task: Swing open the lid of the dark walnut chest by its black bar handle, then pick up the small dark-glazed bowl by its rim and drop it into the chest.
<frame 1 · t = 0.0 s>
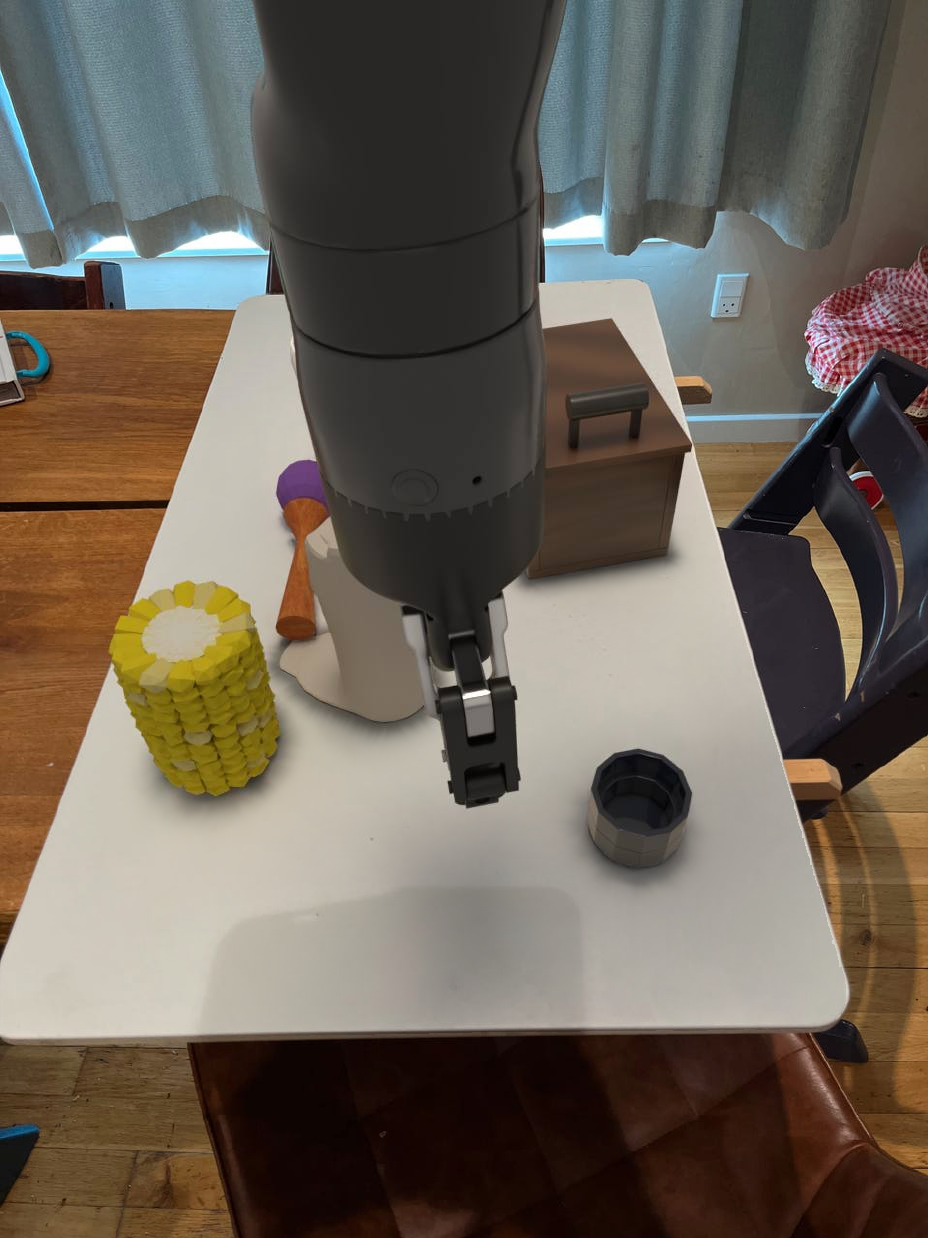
hand: (462, 716, 37), 20 cm above the table, tool pointing down, fingers open, 8 cm apart
chest: (568, 498, 78), on the table
candle: (354, 674, 65), on the table, touching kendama
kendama: (309, 564, 74), on the table, touching candle
bowl: (633, 827, 54), on the table
wine bottle: (446, 375, 94), on the table
food: (231, 746, 61), on the table
lid: (576, 366, 66), point 15 cm above the table, hinge at 0.0°
toy fire truck: (500, 321, 102), on the table
cup: (365, 481, 82), on the table
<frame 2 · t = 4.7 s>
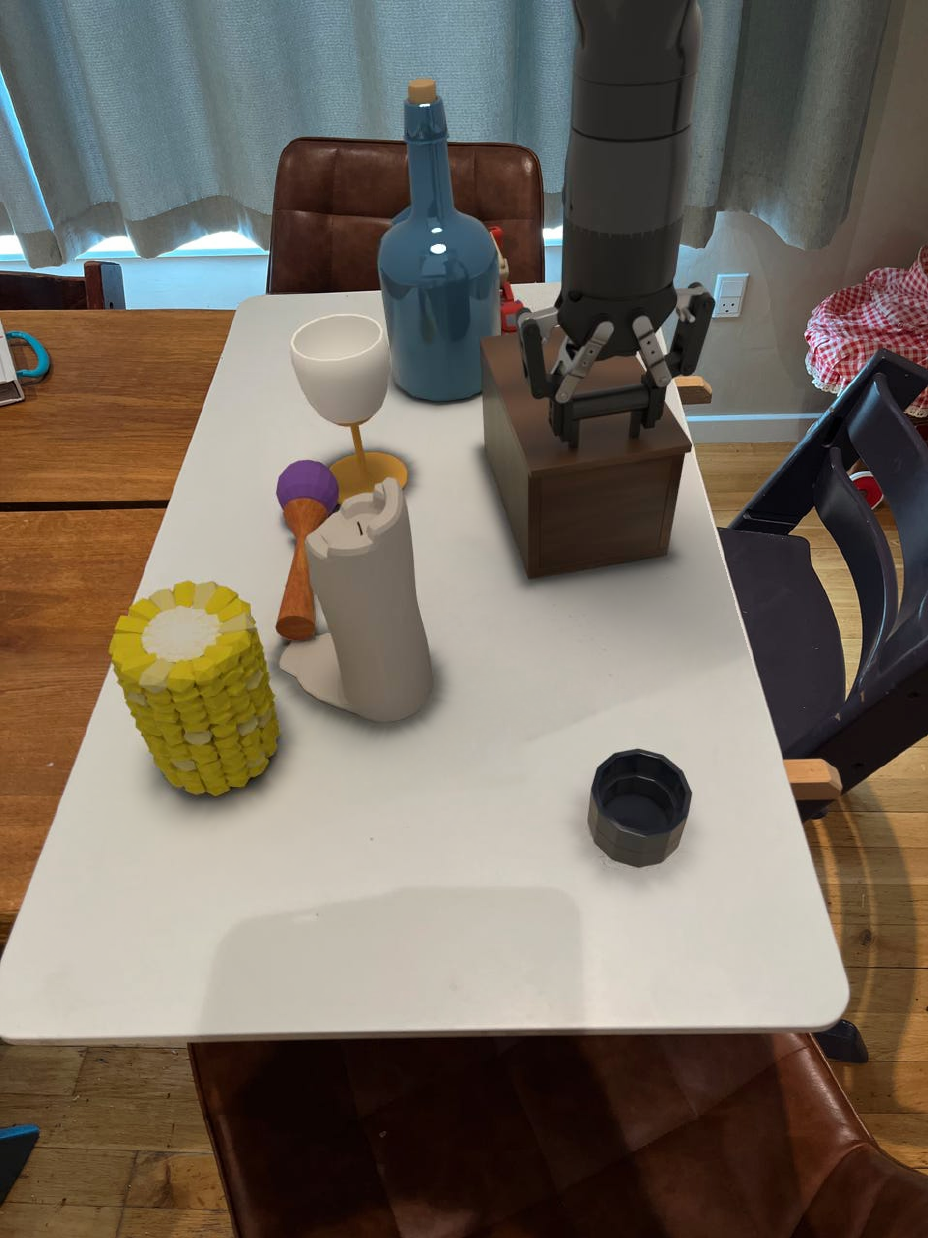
hand: (604, 428, 61), 14 cm above the table, tool pointing down, fingers closed on lid, 6 cm apart
lid: (576, 366, 66), point 15 cm above the table, hinge at -0.1°, touching gripper
everything else where it was.
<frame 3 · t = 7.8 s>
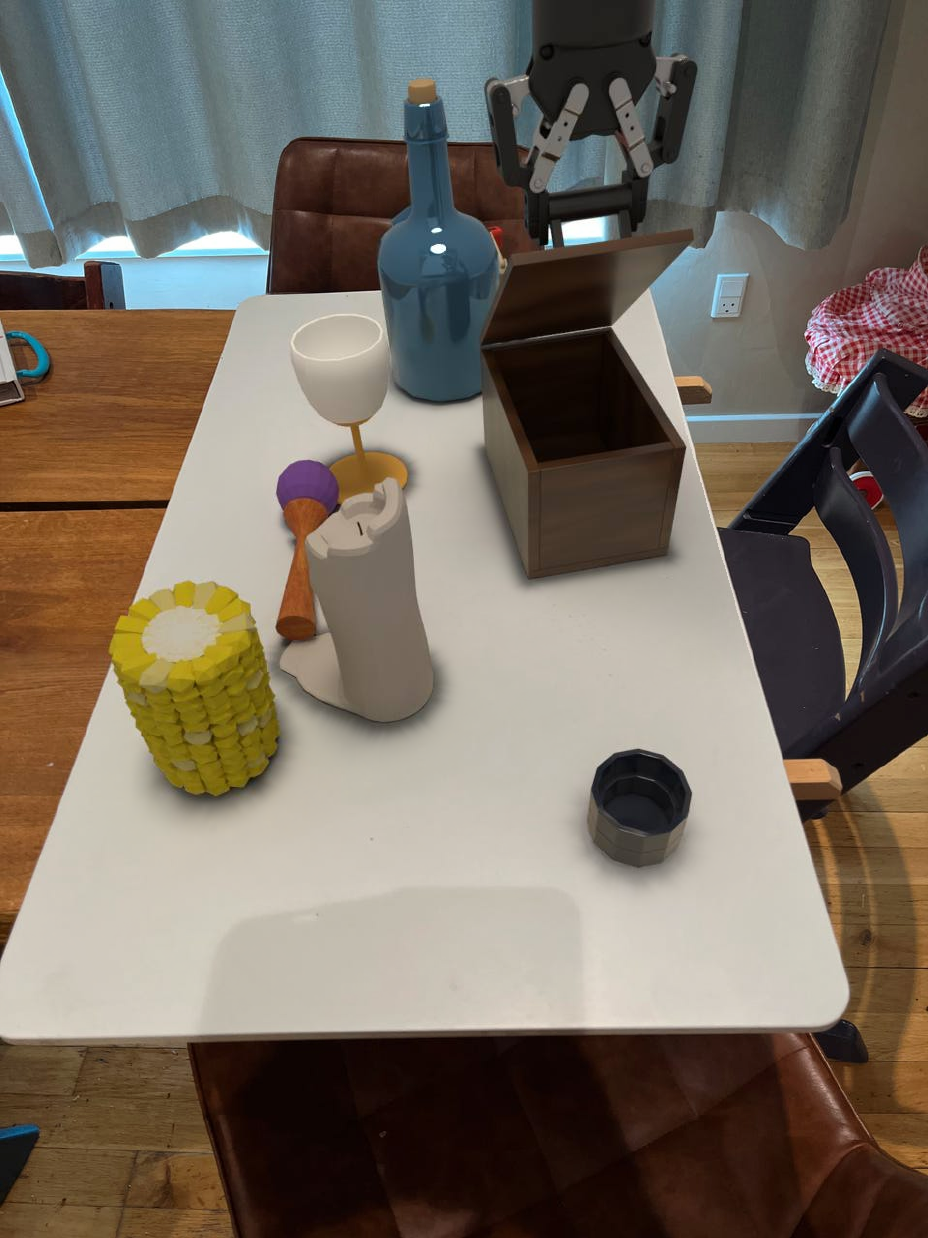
hand: (584, 234, 58), 26 cm above the table, tool pointing down, fingers closed on lid, 6 cm apart
lid: (565, 268, 64), point 21 cm above the table, hinge at 42.8°, touching gripper
everything else where it was.
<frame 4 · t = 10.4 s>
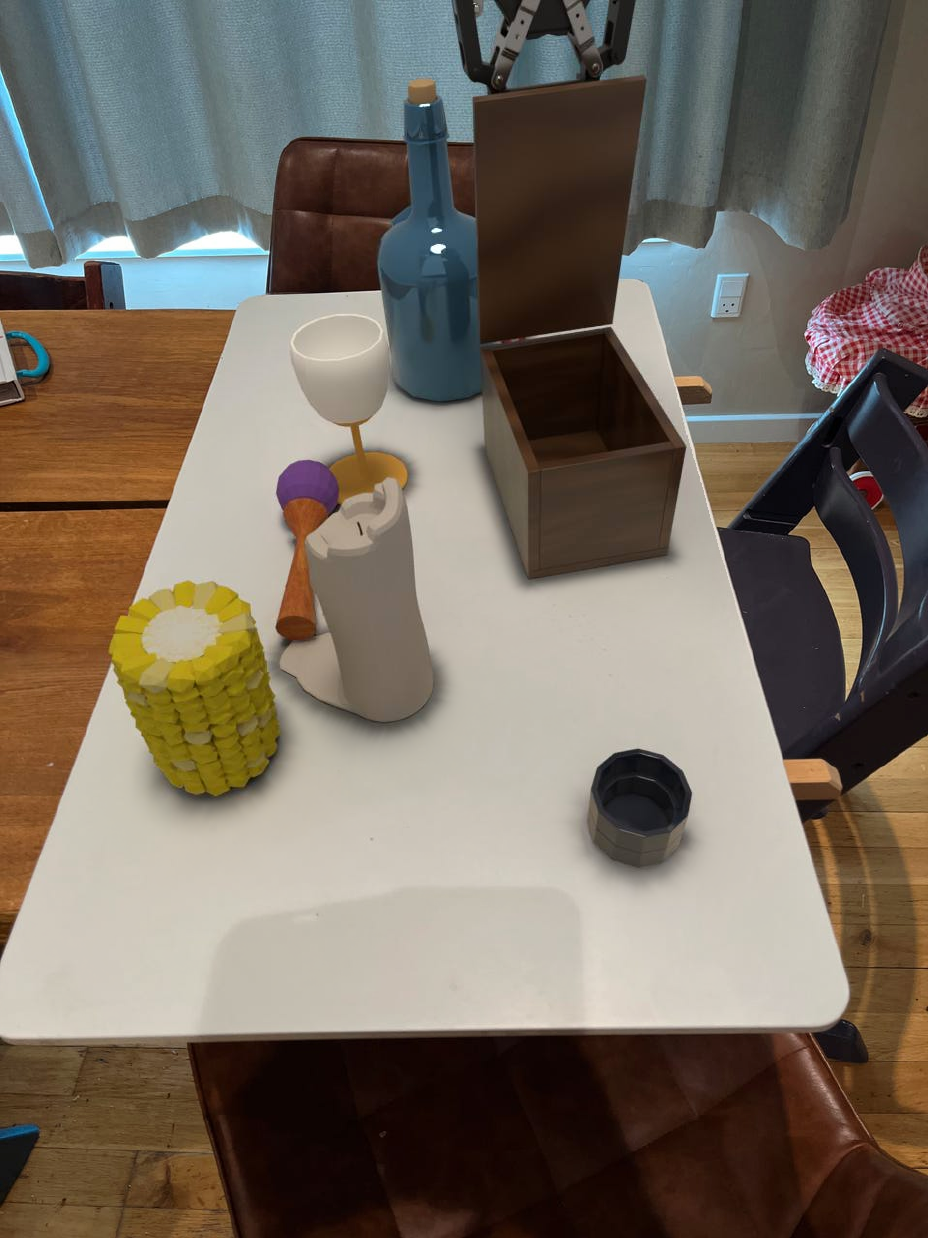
hand: (543, 133, 64), 29 cm above the table, tool pointing down, fingers closed on lid, 6 cm apart
lid: (545, 211, 67), point 23 cm above the table, hinge at 81.7°, touching gripper
everything else where it was.
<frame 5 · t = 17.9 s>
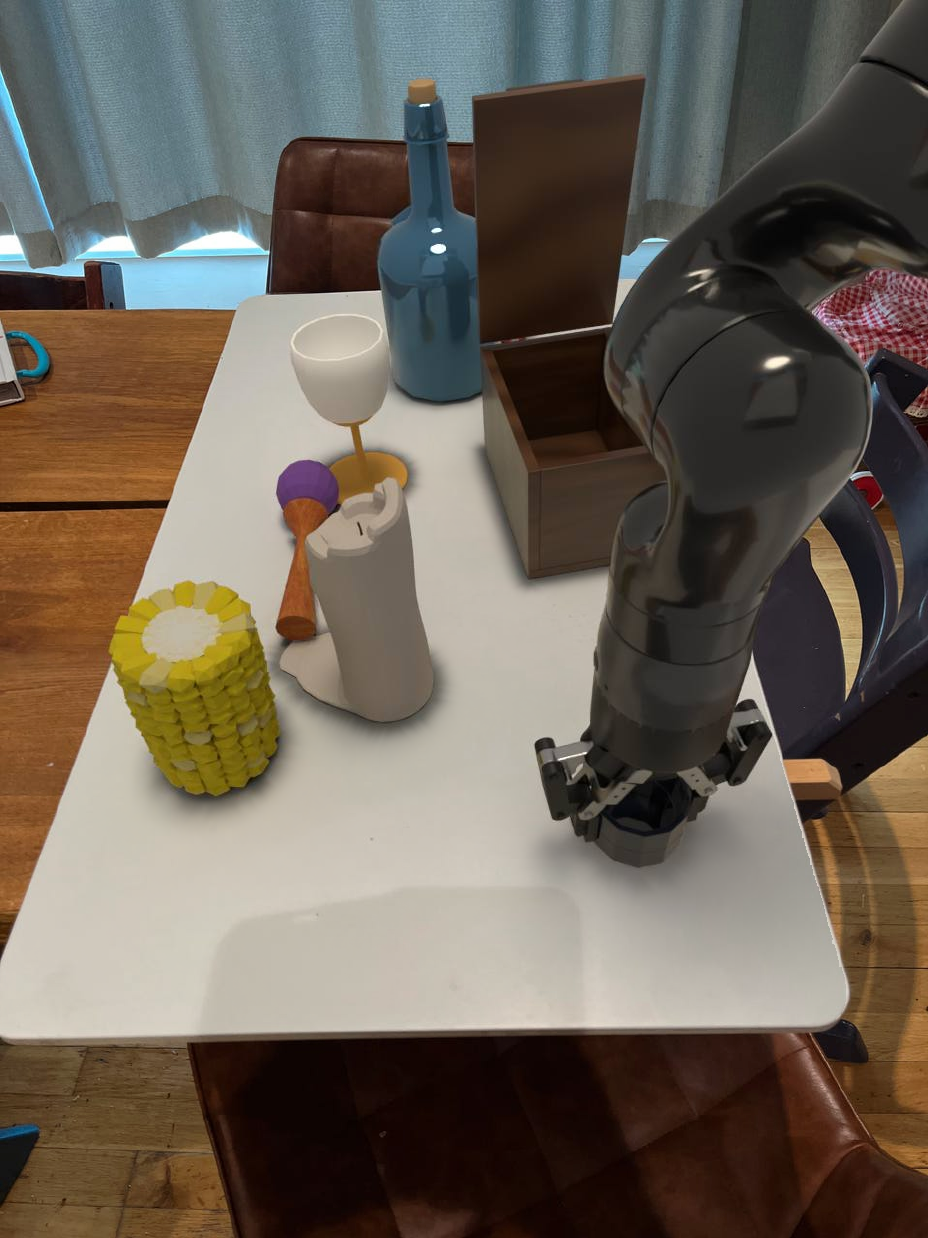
hand: (635, 819, 53), 1 cm above the table, tool pointing down, fingers closed on bowl, 6 cm apart
bowl: (633, 827, 54), on the table, touching gripper
lid: (545, 211, 67), point 23 cm above the table, hinge at 82.3°
everything else where it was.
when the fingers open (12 cm above the table, at t = 27.8 s): bowl drops 9 cm, resting on chest.
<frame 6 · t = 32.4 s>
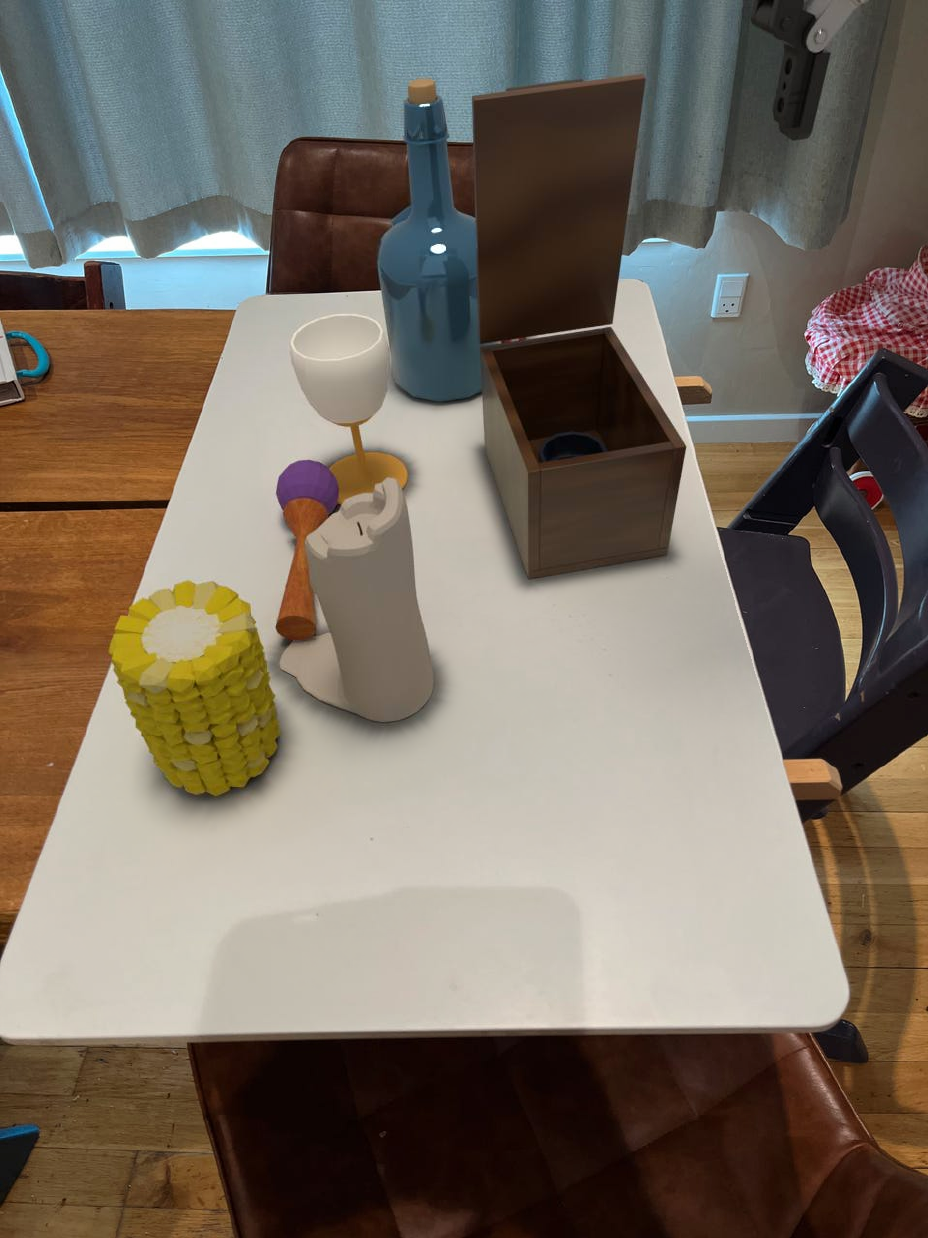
hand: (872, 124, 40), 36 cm above the table, tool pointing down, fingers open, 8 cm apart
bowl: (570, 493, 76), point 1 cm above the table, touching chest
everything else where it was.
at the end: lid at +82° (first picture: +0°); bowl inside the target area in the chest (0.5 cm from its centre), point 1.0 cm above the chest's base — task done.
